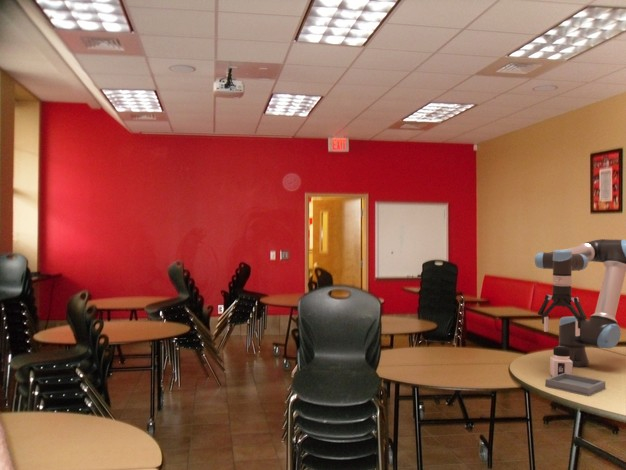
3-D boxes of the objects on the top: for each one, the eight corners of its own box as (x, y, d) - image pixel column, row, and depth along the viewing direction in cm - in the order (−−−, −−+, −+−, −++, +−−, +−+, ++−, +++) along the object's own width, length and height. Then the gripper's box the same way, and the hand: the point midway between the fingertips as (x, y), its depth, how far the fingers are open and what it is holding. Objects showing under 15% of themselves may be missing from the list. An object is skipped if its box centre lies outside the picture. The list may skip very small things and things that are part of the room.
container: (572, 379, 240) (573, 349, 240) (553, 377, 241) (554, 348, 241) (568, 374, 247) (568, 345, 247) (549, 373, 249) (550, 344, 249)
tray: (563, 379, 238) (563, 373, 238) (605, 388, 226) (605, 381, 226) (545, 386, 227) (545, 379, 227) (588, 396, 214) (588, 388, 214)
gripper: (530, 283, 248) (530, 330, 248) (588, 288, 230) (588, 338, 230) (537, 282, 253) (537, 328, 253) (595, 286, 235) (594, 336, 235)
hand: (561, 333), depth 242 cm, fingers open, 13 cm apart
